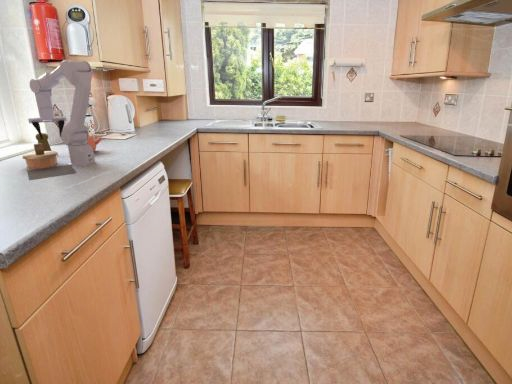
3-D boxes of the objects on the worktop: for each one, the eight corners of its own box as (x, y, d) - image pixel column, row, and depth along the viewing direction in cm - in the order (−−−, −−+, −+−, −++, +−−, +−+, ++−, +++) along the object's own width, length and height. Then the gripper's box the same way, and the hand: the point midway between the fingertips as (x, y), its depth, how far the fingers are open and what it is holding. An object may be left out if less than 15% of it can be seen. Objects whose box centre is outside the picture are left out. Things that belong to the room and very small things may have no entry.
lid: (64, 154, 145) (62, 142, 143) (37, 160, 133) (34, 148, 132) (43, 151, 149) (41, 140, 147) (15, 158, 137) (12, 145, 136)
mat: (70, 165, 144) (70, 164, 144) (76, 174, 131) (76, 173, 131) (27, 171, 135) (26, 170, 135) (29, 181, 122) (29, 180, 122)
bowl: (63, 163, 147) (61, 153, 145) (42, 169, 137) (40, 159, 135) (43, 162, 150) (40, 152, 148) (21, 168, 139) (18, 157, 138)
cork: (50, 153, 166) (45, 131, 163) (55, 155, 163) (50, 133, 159) (36, 155, 162) (31, 133, 158) (41, 157, 158) (36, 134, 155)
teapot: (91, 148, 178) (88, 129, 174) (105, 151, 172) (102, 131, 169) (66, 153, 166) (62, 133, 163) (79, 156, 161) (76, 135, 157)
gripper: (62, 106, 152) (68, 135, 156) (25, 107, 144) (32, 138, 148) (64, 107, 147) (70, 137, 151) (26, 108, 138) (33, 140, 143)
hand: (51, 138), depth 149 cm, fingers open, 7 cm apart
